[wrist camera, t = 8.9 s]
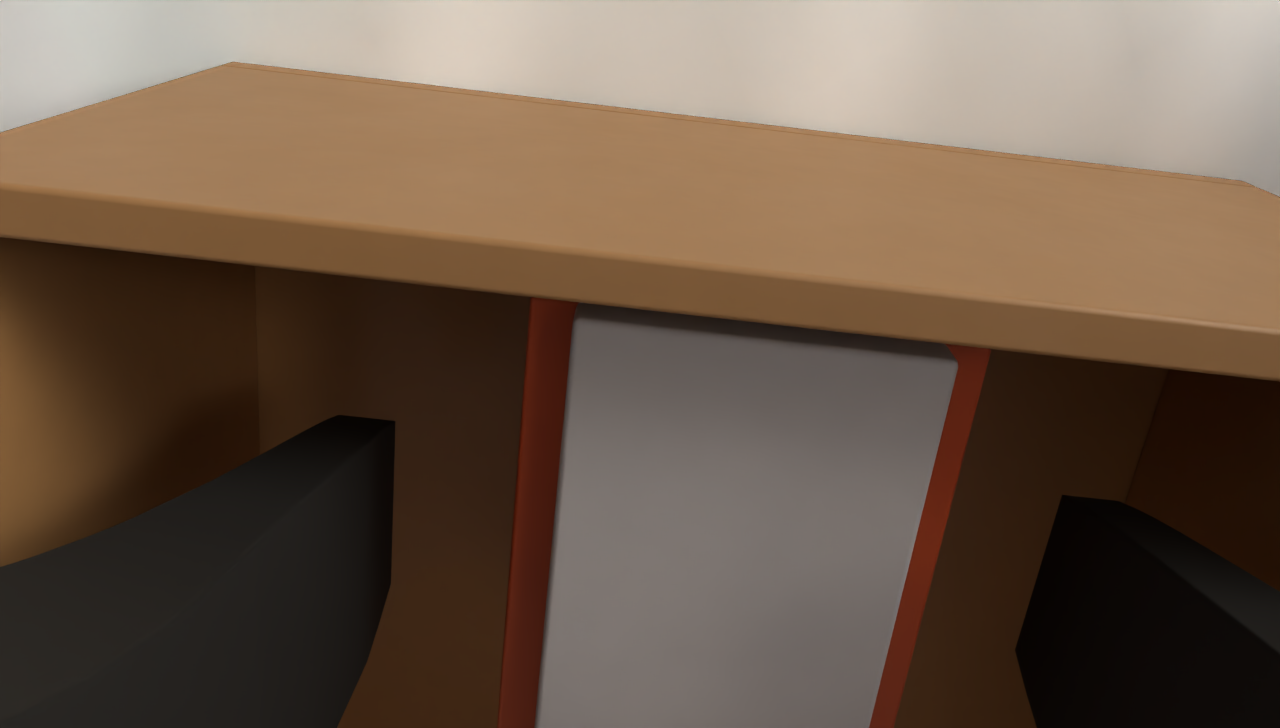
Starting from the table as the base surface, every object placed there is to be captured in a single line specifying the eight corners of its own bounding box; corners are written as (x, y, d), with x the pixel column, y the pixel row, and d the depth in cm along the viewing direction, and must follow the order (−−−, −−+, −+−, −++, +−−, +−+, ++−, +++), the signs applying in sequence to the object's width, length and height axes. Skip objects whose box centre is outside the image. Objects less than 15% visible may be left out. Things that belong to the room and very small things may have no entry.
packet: (888, 216, 13) (1009, 367, 9) (806, 613, 15) (868, 899, 11) (571, 179, 13) (523, 313, 9) (535, 584, 15) (481, 861, 11)
